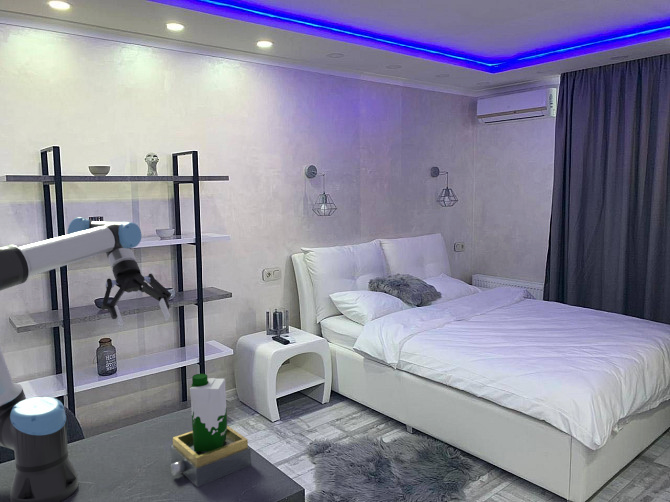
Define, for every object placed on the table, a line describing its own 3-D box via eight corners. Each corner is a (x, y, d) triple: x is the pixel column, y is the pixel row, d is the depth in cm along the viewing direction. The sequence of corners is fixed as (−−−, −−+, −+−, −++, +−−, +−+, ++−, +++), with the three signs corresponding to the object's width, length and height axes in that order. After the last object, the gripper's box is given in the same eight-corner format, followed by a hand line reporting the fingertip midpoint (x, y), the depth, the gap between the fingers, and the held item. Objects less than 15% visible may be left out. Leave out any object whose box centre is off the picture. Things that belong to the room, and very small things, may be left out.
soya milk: (198, 437, 149) (195, 370, 147) (230, 437, 149) (227, 370, 146) (189, 453, 140) (186, 382, 138) (223, 453, 140) (220, 382, 138)
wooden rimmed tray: (185, 491, 132) (184, 463, 131) (160, 466, 144) (159, 441, 143) (251, 465, 144) (250, 439, 143) (223, 444, 156) (221, 420, 155)
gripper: (161, 269, 171) (182, 322, 162) (79, 278, 155) (98, 337, 146) (166, 254, 167) (189, 308, 157) (83, 262, 151) (102, 323, 141)
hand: (145, 322), depth 152 cm, fingers open, 13 cm apart
